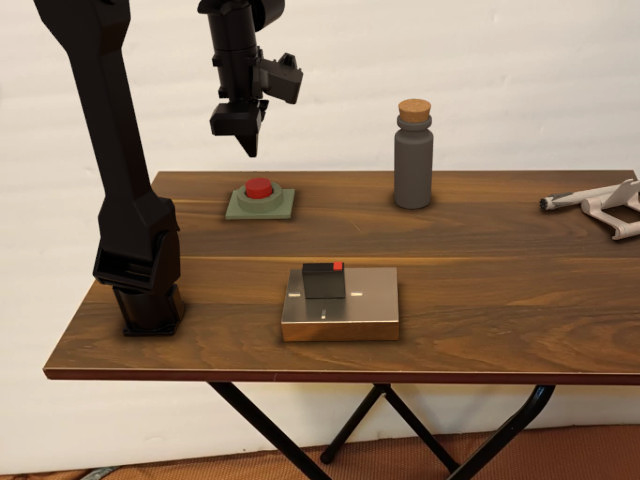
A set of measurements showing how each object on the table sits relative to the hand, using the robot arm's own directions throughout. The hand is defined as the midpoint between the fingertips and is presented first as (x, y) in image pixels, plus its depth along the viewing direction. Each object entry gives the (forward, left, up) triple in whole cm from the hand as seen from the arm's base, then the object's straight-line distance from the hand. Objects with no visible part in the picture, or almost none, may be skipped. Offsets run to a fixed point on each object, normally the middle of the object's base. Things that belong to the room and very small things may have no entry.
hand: (253, 156), depth 94 cm
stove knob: (+12, -27, -5) cm, 30 cm away
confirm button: (0, 0, -6) cm, 6 cm away
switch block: (0, 0, -8) cm, 8 cm away
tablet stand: (+56, -9, -4) cm, 57 cm away
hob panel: (+14, -27, -8) cm, 32 cm away
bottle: (+24, +1, -8) cm, 25 cm away
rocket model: (+43, -3, -7) cm, 44 cm away
